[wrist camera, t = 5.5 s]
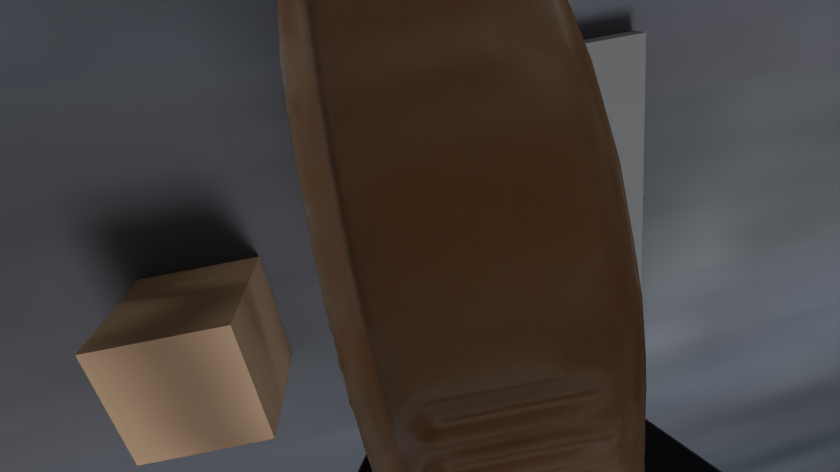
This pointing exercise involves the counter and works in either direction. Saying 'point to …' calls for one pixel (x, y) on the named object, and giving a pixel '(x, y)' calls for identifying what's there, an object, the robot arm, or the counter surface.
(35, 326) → the counter surface
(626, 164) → the mat
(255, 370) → the walnut block
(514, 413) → the tin
